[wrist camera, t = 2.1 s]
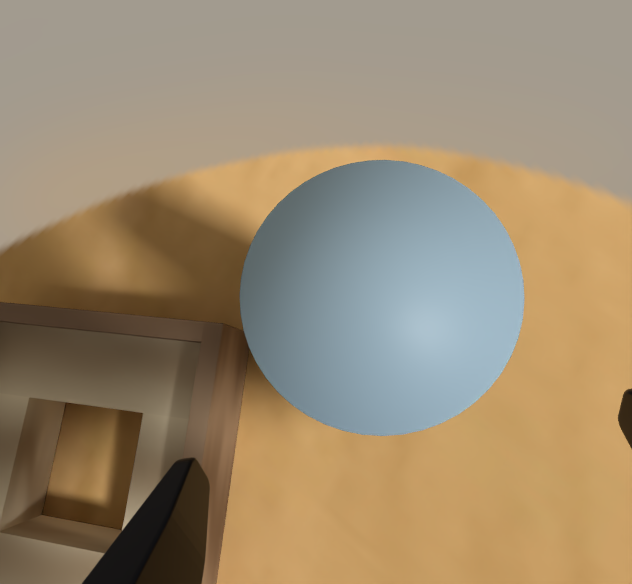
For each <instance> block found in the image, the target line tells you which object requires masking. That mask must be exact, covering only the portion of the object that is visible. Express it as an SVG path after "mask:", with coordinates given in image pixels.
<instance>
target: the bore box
mask: <svg viewBox="0 0 632 584" xmlns="http://www.w3.org/2000/svg"><path fill="white" fill-rule="evenodd" d="M248 352H249V346H248V342H247V339H246V336H245V333H244V331H242V330H239V329H237V328H234V327H231V326H228V325H226V324H223V323H212V322H202V321H192V320H181V319H171V318H160V317H150V316H139V315H129V314H119V313H108V312H98V311H87V310H77V309H67V308H56V307H46V306H35V305H25V304H14V303H4V302H0V584H82V582H83V581H84V580H85V579H86V577H87V576H88V575H89V573H90V572H91V571H92V569H93V568H94V567H95V565H96V564H97V563H98V562H99V560H100V559H101V558H102V556H103V555H104V554H105V552H106V551H107V550H108V548H109V547H110V546H111V545H112V543H113V542H114V541H115V539H116V538H117V537H118V535H119V534H120V533H121V531H122V530H123V529H124V528H125V526H126V525H127V524H128V522H129V521H130V520H131V518H132V517H133V516H134V514H135V513H136V512H137V511H138V509H139V508H140V507H141V505H142V504H143V503H144V501H145V500H146V499H147V497H148V496H149V495H150V494H151V492H152V491H153V490H154V488H155V487H156V486H157V484H158V483H159V482H160V480H161V479H162V478H163V477H164V475H165V474H166V473H167V471H168V470H169V469H170V467H171V466H172V465H173V464H174V462H176V461H177V460H179V459H184V458H191V457H194V458H196V459H197V460H198V462H199V464H200V465H201V467H202V469H203V470H204V472H205V474H206V475H207V477H208V479H209V483H210V496H209V512H208V528H207V544H206V557H205V566H204V573H203V579H202V584H216V582H217V575H218V568H219V560H220V553H221V546H222V539H223V532H224V525H225V517H226V510H227V503H228V496H229V489H230V482H231V474H232V467H233V460H234V453H235V446H236V438H237V431H238V424H239V417H240V410H241V403H242V395H243V388H244V381H245V374H246V367H247V360H248ZM66 402H67V403H75V404H82V405H89V406H96V407H104V408H111V409H118V410H126V411H133V412H140V413H143V417H142V423H141V428H140V434H139V439H138V445H137V450H136V456H135V461H134V467H133V472H132V478H131V483H130V489H129V494H128V500H127V506H126V511H125V517H124V522H123V528H122V530H119V529H114V528H108V527H103V526H98V525H93V524H87V523H82V522H77V521H71V520H66V519H61V518H56V517H50V516H45V515H42V511H43V506H44V501H45V497H46V492H47V488H48V483H49V478H50V474H51V469H52V464H53V460H54V455H55V450H56V446H57V441H58V437H59V432H60V427H61V423H62V418H63V413H64V409H65V404H66Z"/></svg>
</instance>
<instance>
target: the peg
mask: <svg viewBox="0 0 632 584" xmlns="http://www.w3.org/2000/svg"><path fill="white" fill-rule="evenodd" d="M523 310H524V285H523V277H522V272H521V267H520V262H519V259H518V256H517V254H516V251H515V248H514V245H513V243H512V241H511V239H510V237H509V235H508V233H507V231H506V229H505V228H504V226H503V225H502V223H501V222H500V221H499V219H498V218H497V216H496V215H495V213H494V212H493V211H492V210H491V209H490V208H489V207H488V206H487V205H486V203H485V202H484V201H483V200H482V199H481V198H479V197H478V196H477V195H476V194H475V193H473V192H472V191H471V190H470V189H469V188H467V187H466V186H464V185H463V184H461V183H459V182H458V181H456V180H455V179H453V178H451V177H449V176H447V175H445V174H443V173H441V172H439V171H436V170H433V169H430V168H428V167H425V166H422V165H417V164H413V163H408V162H403V161H391V160H372V161H363V162H356V163H351V164H347V165H343V166H340V167H336V168H333V169H331V170H328V171H326V172H323V173H321V174H319V175H317V176H315V177H313V178H311V179H310V180H308V181H306V182H304V183H303V184H301V185H300V186H299V187H297V188H296V189H294V190H293V191H292V192H290V193H289V194H288V195H287V196H286V197H285V198H284V199H283V200H282V201H281V202H279V203H278V204H277V206H276V207H275V208H274V209H273V210H272V211H271V213H270V214H269V215H268V216H267V218H266V219H265V221H264V222H263V224H262V225H261V227H260V228H259V230H258V231H257V233H256V235H255V237H254V239H253V241H252V243H251V245H250V248H249V251H248V254H247V257H246V259H245V263H244V267H243V272H242V277H241V286H240V313H241V318H242V324H243V330H244V333H245V336H246V339H247V342H248V346H249V348H250V350H251V352H252V355H253V357H254V359H255V361H256V363H257V365H258V366H259V368H260V369H261V371H262V372H263V374H264V376H265V377H266V379H267V380H268V381H269V382H270V383H271V384H272V386H273V387H274V388H275V389H276V390H277V392H278V393H279V394H281V395H282V396H283V397H284V398H285V399H286V400H287V401H288V402H289V403H291V404H292V405H293V406H294V407H296V408H297V409H299V410H300V411H302V412H303V413H305V414H306V415H308V416H309V417H311V418H313V419H315V420H317V421H319V422H321V423H323V424H326V425H328V426H331V427H334V428H337V429H340V430H343V431H347V432H352V433H357V434H362V435H377V436H387V435H402V434H407V433H412V432H416V431H421V430H424V429H427V428H430V427H433V426H435V425H438V424H441V423H443V422H445V421H447V420H448V419H450V418H452V417H454V416H456V415H458V414H460V413H461V412H462V411H464V410H465V409H466V408H468V407H469V406H471V405H472V404H473V403H475V402H476V401H477V400H478V399H479V398H480V397H481V396H482V395H483V394H484V393H485V392H486V391H487V390H488V389H489V388H490V387H491V386H492V384H493V383H494V382H495V381H496V379H497V378H498V377H499V375H500V374H501V373H502V371H503V369H504V368H505V366H506V364H507V362H508V361H509V359H510V357H511V355H512V352H513V350H514V347H515V345H516V342H517V340H518V337H519V333H520V328H521V324H522V320H523Z"/></svg>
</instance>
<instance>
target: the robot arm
mask: <svg viewBox="0 0 632 584" xmlns="http://www.w3.org/2000/svg"><path fill="white" fill-rule="evenodd" d="M618 421H619V425H620V428H621V430H622V432H623V433H624V435H625V437H626V439H627V441H628V443H629V445H630V447H631V449H632V389H628V390H626V391H625V392H624V394H623V398H622V402H621V406H620V410H619V415H618ZM209 496H210V483H209V479H208V477H207V475H206V474H205V472H204V470H203V469H202V467H201V465H200V464H199V462H198V460H197V459H196V458H194V457H191V458H184V459H179V460H177V461H176V462H174V464H173V465H172V466H171V467H170V469H169V470H168V471H167V473H166V474H165V475H164V477H163V478H162V479H161V480H160V482H159V483H158V484H157V486H156V487H155V488H154V490H153V491H152V492H151V494H150V495H149V496H148V497H147V499H146V500H145V501H144V503H143V504H142V505H141V507H140V508H139V509H138V511H137V512H136V513H135V514H134V516H133V517H132V518H131V520H130V521H129V522H128V524H127V525H126V526H125V528H124V529H123V530H122V531H121V533H120V534H119V535H118V537H117V538H116V539H115V541H114V542H113V543H112V545H111V546H110V547H109V548H108V550H107V551H106V552H105V554H104V555H103V556H102V558H101V559H100V560H99V562H98V563H97V564H96V565H95V567H94V568H93V569H92V571H91V572H90V573H89V575H88V576H87V577H86V579H85V580H84V581H83V582H82V584H202V579H203V573H204V566H205V557H206V544H207V528H208V512H209Z"/></svg>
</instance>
